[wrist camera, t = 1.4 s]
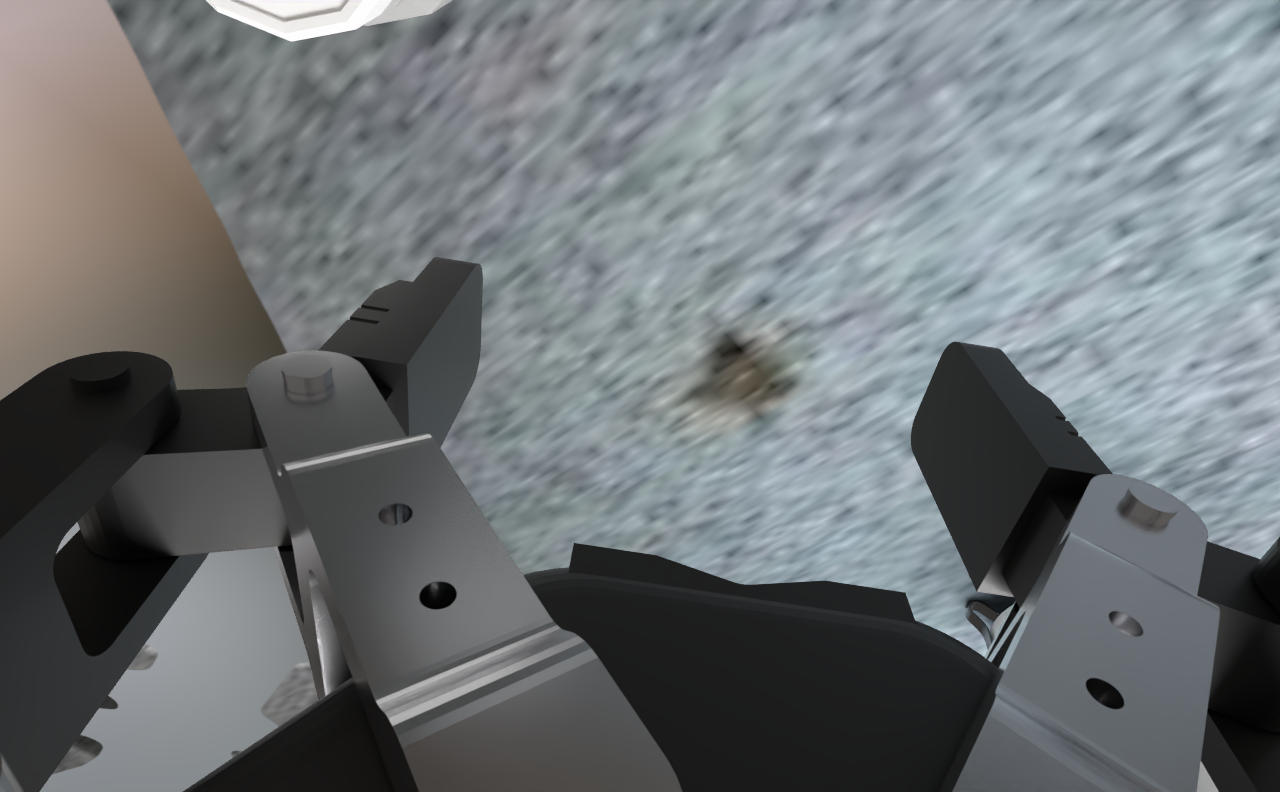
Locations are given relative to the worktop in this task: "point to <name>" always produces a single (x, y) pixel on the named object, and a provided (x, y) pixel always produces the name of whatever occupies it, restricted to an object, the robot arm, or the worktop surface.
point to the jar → (321, 14)
